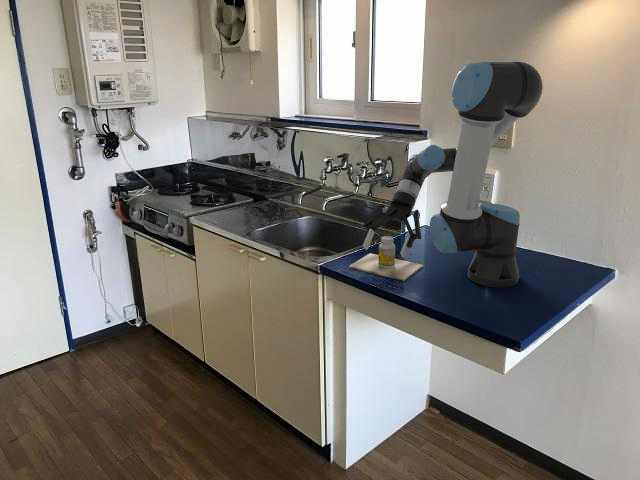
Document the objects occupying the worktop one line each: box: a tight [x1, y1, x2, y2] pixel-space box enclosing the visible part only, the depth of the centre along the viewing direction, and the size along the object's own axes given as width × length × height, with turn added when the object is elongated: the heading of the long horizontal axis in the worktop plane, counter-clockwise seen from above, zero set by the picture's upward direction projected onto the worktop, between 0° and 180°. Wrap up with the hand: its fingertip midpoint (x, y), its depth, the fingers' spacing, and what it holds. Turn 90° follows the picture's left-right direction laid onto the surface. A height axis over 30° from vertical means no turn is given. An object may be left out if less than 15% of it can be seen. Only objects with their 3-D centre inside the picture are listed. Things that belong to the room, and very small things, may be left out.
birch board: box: [348, 253, 424, 282], centre depth 171 cm, size 20×14×1 cm
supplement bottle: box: [378, 235, 396, 268], centre depth 169 cm, size 5×5×10 cm
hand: (383, 251), depth 167 cm, fingers open, 13 cm apart
